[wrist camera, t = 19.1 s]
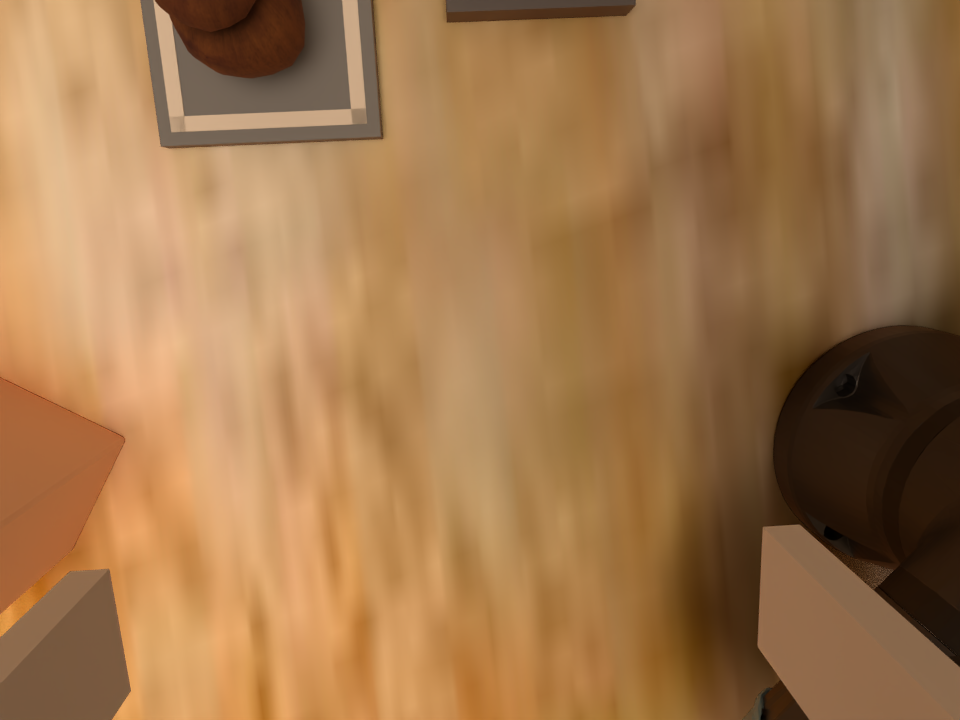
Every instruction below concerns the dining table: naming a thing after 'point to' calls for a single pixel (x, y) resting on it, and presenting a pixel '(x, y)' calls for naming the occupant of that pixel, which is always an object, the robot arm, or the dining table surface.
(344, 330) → the dining table surface
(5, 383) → the soap dispenser
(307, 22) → the marked board
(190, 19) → the wooden figurine
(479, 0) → the ink pad
